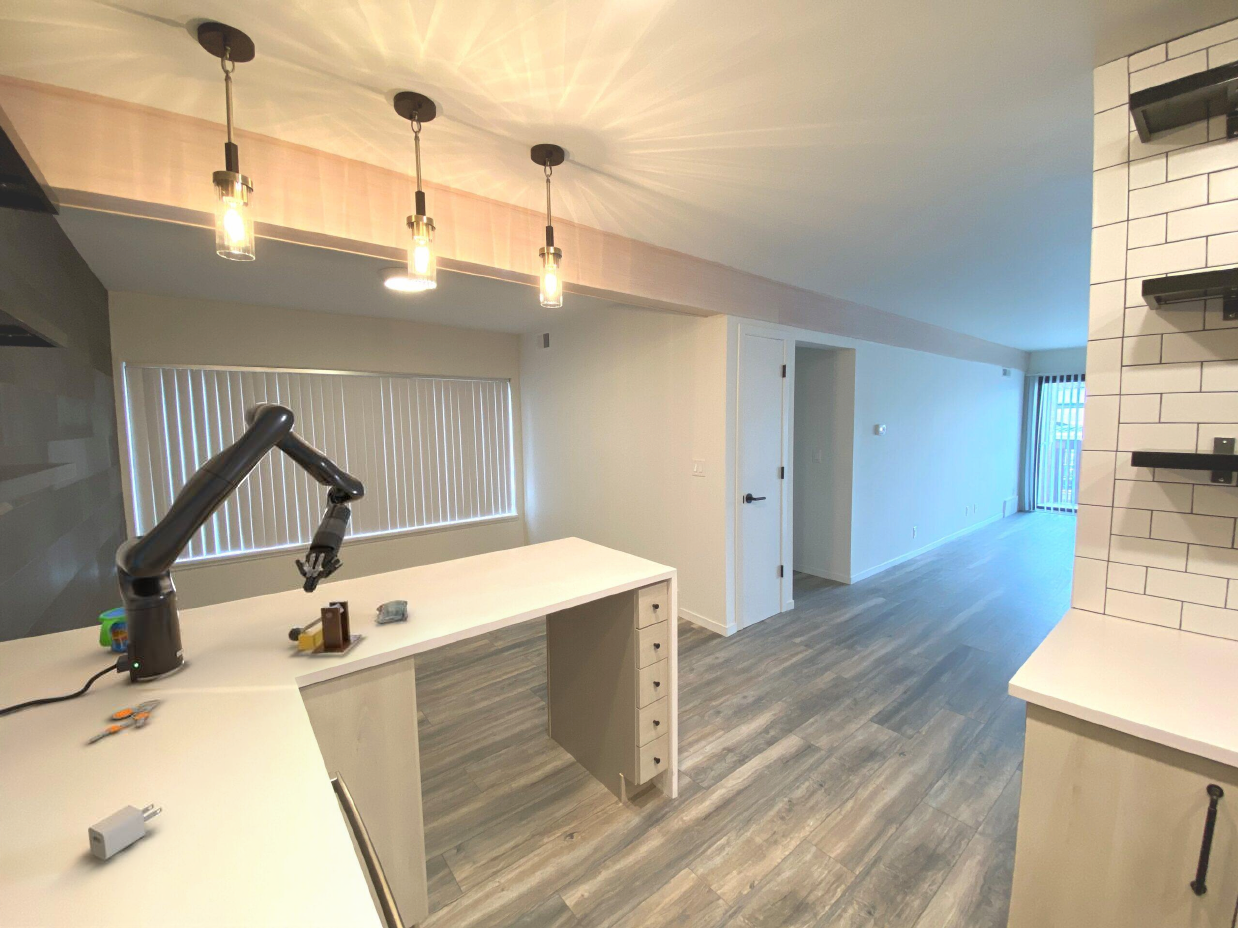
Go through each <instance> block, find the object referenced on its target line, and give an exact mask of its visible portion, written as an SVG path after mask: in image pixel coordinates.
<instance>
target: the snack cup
mask: <svg viewBox="0 0 1238 928" xmlns="http://www.w3.org/2000/svg"><path fill="white" fill-rule="evenodd" d="M98 621H99V622H100V624H101V626H100V631H99V641H98V642H99V645H100V646H101V647H106V648H107V647H110V650H111V651H113V652H116V653H122V652H127V646H126V644H127V641H128V638H127V630H126V621H125V613H124V606H121V607H116V608H113V609H110V610H107V611H104V612H103V613H101V614H100V615H99V616H98Z"/></svg>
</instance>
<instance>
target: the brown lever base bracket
mask: <svg viewBox="0 0 1238 928" xmlns="http://www.w3.org/2000/svg"><path fill="white" fill-rule="evenodd" d="M338 603H339V604H340V605H341V607H342V608H343V610H344V611H343V612H341V613H340V606H335V605H336V604H338ZM320 617H321V618H322V621H321V627H322V631H323V642H322V643H320V644H319V645H318V646H317V647H315V648H314V649H313V650H312V651H310V654H333V653H344V652H345V651H346V650H348V649H349V648H350V647H351V646H352V645H354V643H355V642H357V641H358V639H360V638H361V637H362V634H351V628H350V627H351V625H350V613H349V600H331V601H329V602H328V606H322V607H321V608H320Z"/></svg>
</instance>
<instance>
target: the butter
mask: <svg viewBox="0 0 1238 928" xmlns="http://www.w3.org/2000/svg"><path fill="white" fill-rule="evenodd" d="M298 640H299V641H298V649H299V650H300V651H301V650H315V649H316V648H317V647H319V646H320V645H321V644H322V643H323V631H322V626H320V627H311V628H310V629H308V630H306V631H305V632H303V633H302V634H300V635H299V636H298Z"/></svg>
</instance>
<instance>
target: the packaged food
mask: <svg viewBox="0 0 1238 928" xmlns="http://www.w3.org/2000/svg"><path fill="white" fill-rule="evenodd" d="M407 606H408V601H407V600H403V599H402V600H399V599H397V600H392V601H387V602H385V603H382V604H380V605H379V606H378V607H376V611H377V612H378V616H377V617H376V619H375V620H374V622H375V623H379V624H386V623H392V622H397V621H398V622H399V621H405V620H407V618H408V607H407Z"/></svg>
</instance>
